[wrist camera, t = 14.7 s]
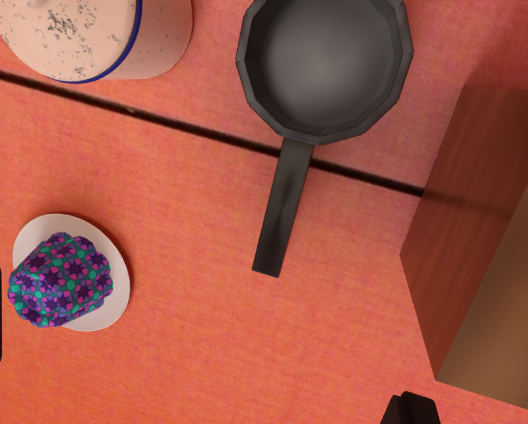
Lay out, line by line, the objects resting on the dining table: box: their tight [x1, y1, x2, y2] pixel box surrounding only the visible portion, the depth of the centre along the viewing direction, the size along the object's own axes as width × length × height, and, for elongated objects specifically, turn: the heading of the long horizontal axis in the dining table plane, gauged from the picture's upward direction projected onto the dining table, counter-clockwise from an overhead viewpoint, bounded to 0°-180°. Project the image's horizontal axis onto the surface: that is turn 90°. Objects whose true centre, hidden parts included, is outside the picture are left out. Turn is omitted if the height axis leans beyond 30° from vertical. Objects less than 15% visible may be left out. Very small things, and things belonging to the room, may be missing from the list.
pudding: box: [7, 214, 130, 331], centre depth 36 cm, size 12×12×5 cm
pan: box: [235, 0, 414, 278], centre depth 28 cm, size 20×10×5 cm, turn 167°
